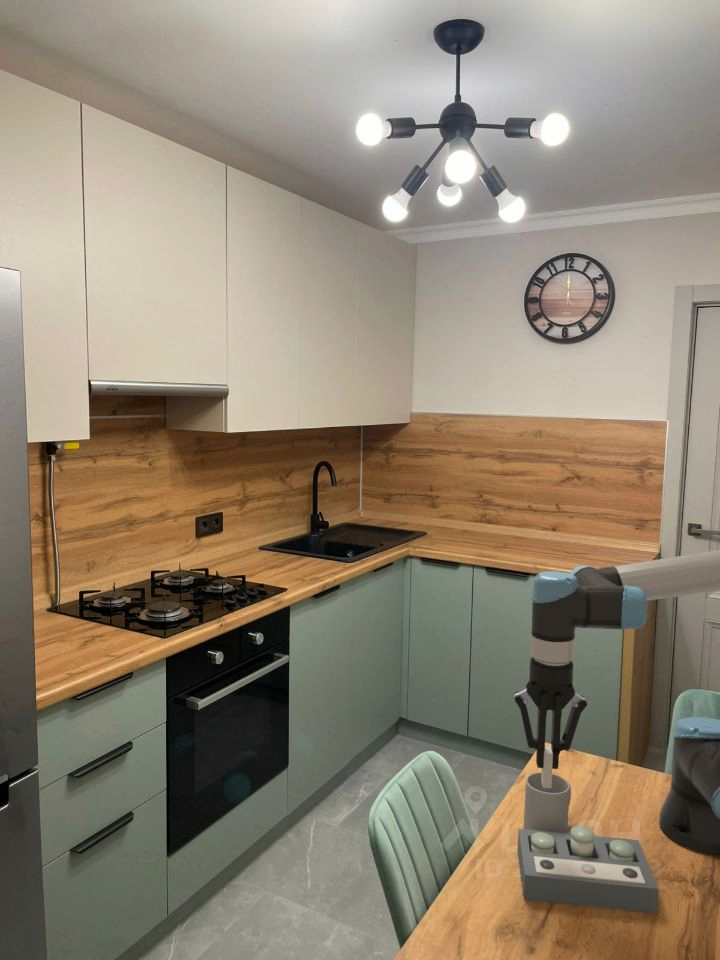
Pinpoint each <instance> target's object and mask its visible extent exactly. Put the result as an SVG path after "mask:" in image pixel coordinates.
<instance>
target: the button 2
mask: <svg viewBox="0 0 720 960" xmlns="http://www.w3.org/2000/svg"><path fill="white" fill-rule="evenodd" d="M609 849H610V860H620V861H630V862H633V855H634V847H633V846H632V845H631V844H630V843H628V842H626V841H623V840H613V841H611V842H610V848H609Z"/></svg>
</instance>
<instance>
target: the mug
mask: <svg viewBox="0 0 720 960" xmlns="http://www.w3.org/2000/svg"><path fill="white" fill-rule="evenodd" d="M541 776H542V772H535V773H532V774H529V775H528V776H527V777H526V780H525V790H524V792H525V793H524V811H523V812H524V813H523V828H522V829H528V830H538V831H549V832H559V833H568V832H569V830H568V828H569V810H570V804H571V797H572V789H571V784H570V782H568V781H567V780H566V779H565V778H564V777H562V776H559V775H557V774H554V773H552V786H551V788H543V786H542V781H541Z"/></svg>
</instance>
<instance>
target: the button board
mask: <svg viewBox="0 0 720 960" xmlns="http://www.w3.org/2000/svg"><path fill="white" fill-rule="evenodd" d="M537 832H543V833H547V834H549V835H551V836H552V837H553V838H554V840H555V845H554V853H553V854H551V853H541V852H531V836H532V834H534V833H537ZM613 840H623V841H626V842H628V843H630V844H631V845H632V846H633V847H634V855H633V862H630V861H620V860H610V849H609V848H610V842H611V841H613ZM570 846H571V833H559V832H549V831H538V830H528V829H523V828H518V833H517V857H518V865H519V873H520V879H521V881H520V882H521V887H522V895H523V900H525V901H533V902H542V903H543V902H544V903H553V904H562V905H570V906H579V907H580V906H582V907H589V908H597V909H599V908H600V909H607V910H614V911H615V910H616V911H626V912H627V911H628V912H634V913H643V914H651V915H653V914H654V915H657V914H658V907H659V906H658V905H659V893H660V891H659V890H660V889H659V886H658V883H657V881H656V879H655V876H654V874H653V872H652V869H651V867H650V865H649V863H648V860H647V857H646V855H645V853H644V850H643V848H642V845H641V843H640V841H639V839H629V838H622V837H621V838H619V837H612V836H611V837H609V836H597V835H595V840H594V847H593V858H590V857H581V856H571V854H570ZM534 856H537V857H547V858H557V859H567V860H577V861H586V862H596V863H606V864H616V865H626V866H636V867H639V868H640V871H641V873H642V876H643V878H644V881H645V885H644V884H634V883H624V882H615V881H605V880H596V879H586V878H577V877H567V876H558V875H548V874H538V873H536V868H535V862H534Z"/></svg>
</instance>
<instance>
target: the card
mask: <svg viewBox="0 0 720 960" xmlns="http://www.w3.org/2000/svg"><path fill="white" fill-rule="evenodd" d="M534 862H535V868H536V873H538V874H548V875H558V876H567V877H577V878H586V879H596V880H605V881H615V882H624V883H634V884H644V885H645V881H644V878H643V876H642V873H641V871H640V868H639V867H636V866H626V865H616V864H606V863H596V862H586V861H577V860H567V859H557V858H547V857H537V856H534Z"/></svg>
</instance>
